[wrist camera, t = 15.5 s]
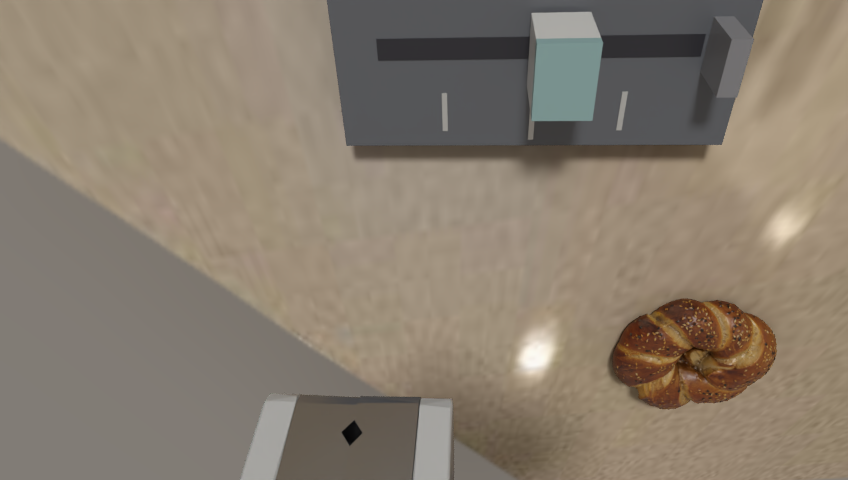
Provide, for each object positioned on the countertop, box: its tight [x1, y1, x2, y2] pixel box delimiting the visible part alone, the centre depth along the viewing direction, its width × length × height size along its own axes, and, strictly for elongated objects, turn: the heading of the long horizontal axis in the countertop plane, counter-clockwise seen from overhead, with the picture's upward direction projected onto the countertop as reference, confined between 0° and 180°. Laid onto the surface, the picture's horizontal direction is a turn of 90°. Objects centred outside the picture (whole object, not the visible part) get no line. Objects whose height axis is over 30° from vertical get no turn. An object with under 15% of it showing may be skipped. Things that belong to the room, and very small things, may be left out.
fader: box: [527, 12, 603, 121], centre depth 32 cm, size 3×4×4 cm
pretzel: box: [613, 299, 777, 410], centre depth 49 cm, size 12×11×4 cm
